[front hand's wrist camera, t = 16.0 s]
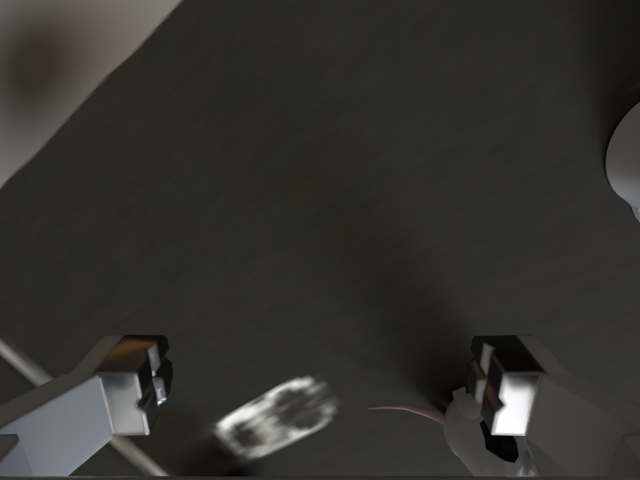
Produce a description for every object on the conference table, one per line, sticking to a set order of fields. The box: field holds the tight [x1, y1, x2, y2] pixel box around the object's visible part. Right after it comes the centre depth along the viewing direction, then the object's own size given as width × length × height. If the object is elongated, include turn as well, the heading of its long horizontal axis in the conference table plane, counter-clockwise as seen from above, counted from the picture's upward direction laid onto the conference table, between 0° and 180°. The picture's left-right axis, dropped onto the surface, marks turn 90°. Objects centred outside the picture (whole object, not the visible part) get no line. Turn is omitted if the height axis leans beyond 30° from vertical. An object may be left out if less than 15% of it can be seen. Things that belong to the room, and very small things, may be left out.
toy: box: [368, 387, 541, 476], centre depth 54 cm, size 9×24×15 cm, turn 79°
